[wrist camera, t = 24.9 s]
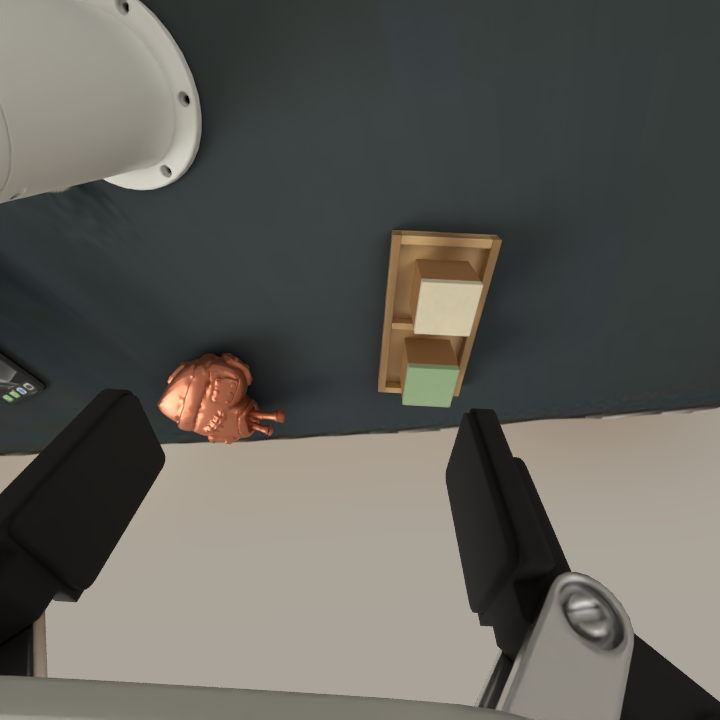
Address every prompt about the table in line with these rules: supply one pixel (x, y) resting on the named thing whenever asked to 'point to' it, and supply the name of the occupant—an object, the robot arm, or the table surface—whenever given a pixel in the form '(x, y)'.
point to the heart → (215, 399)
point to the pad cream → (444, 297)
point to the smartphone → (16, 383)
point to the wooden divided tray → (399, 286)
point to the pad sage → (428, 372)
